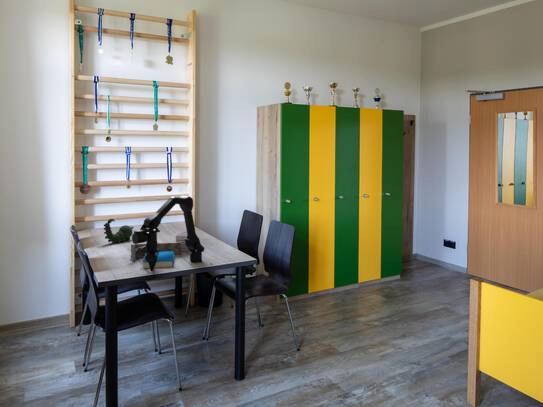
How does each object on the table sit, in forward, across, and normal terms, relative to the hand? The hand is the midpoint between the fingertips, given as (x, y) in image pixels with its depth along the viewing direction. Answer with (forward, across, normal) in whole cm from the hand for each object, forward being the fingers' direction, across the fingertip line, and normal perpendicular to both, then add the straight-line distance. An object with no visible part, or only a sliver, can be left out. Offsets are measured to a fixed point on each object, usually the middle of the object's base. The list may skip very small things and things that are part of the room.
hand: (152, 269), depth 250 cm
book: (+2, -21, +2) cm, 21 cm away
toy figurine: (+2, -85, -28) cm, 89 cm away
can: (+1, -46, +17) cm, 49 cm away
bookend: (+1, -30, -12) cm, 33 cm away
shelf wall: (+1, -36, 0) cm, 37 cm away
